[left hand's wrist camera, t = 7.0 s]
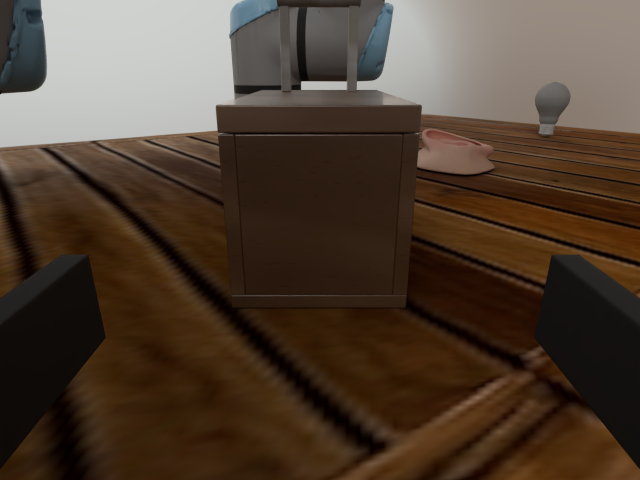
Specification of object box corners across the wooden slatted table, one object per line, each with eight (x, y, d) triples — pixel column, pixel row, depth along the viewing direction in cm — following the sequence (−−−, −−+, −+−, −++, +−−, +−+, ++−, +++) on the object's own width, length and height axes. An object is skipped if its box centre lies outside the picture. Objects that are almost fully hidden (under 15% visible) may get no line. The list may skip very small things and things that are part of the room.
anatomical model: (496, 144, 51) (400, 138, 56) (491, 177, 53) (398, 169, 57) (501, 131, 63) (421, 127, 67) (497, 158, 64) (419, 153, 68)
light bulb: (534, 137, 84) (544, 82, 80) (525, 133, 90) (533, 82, 86) (567, 138, 83) (578, 82, 80) (555, 134, 89) (565, 82, 85)
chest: (266, 216, 40) (260, 107, 36) (372, 216, 40) (377, 107, 36) (232, 308, 24) (217, 134, 21) (405, 307, 24) (420, 134, 21)
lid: (261, 106, 37) (255, -19, 33) (376, 106, 37) (382, -19, 33) (217, 133, 21) (197, -101, 17) (420, 133, 21) (439, -101, 17)
